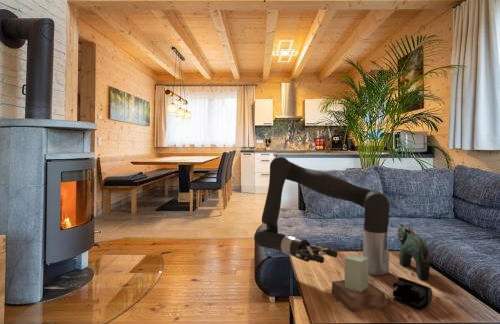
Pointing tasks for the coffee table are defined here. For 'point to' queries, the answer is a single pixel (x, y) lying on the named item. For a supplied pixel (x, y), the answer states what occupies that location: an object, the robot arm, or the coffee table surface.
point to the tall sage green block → (356, 272)
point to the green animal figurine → (413, 251)
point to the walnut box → (358, 297)
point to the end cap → (412, 294)
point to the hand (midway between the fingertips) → (330, 257)
